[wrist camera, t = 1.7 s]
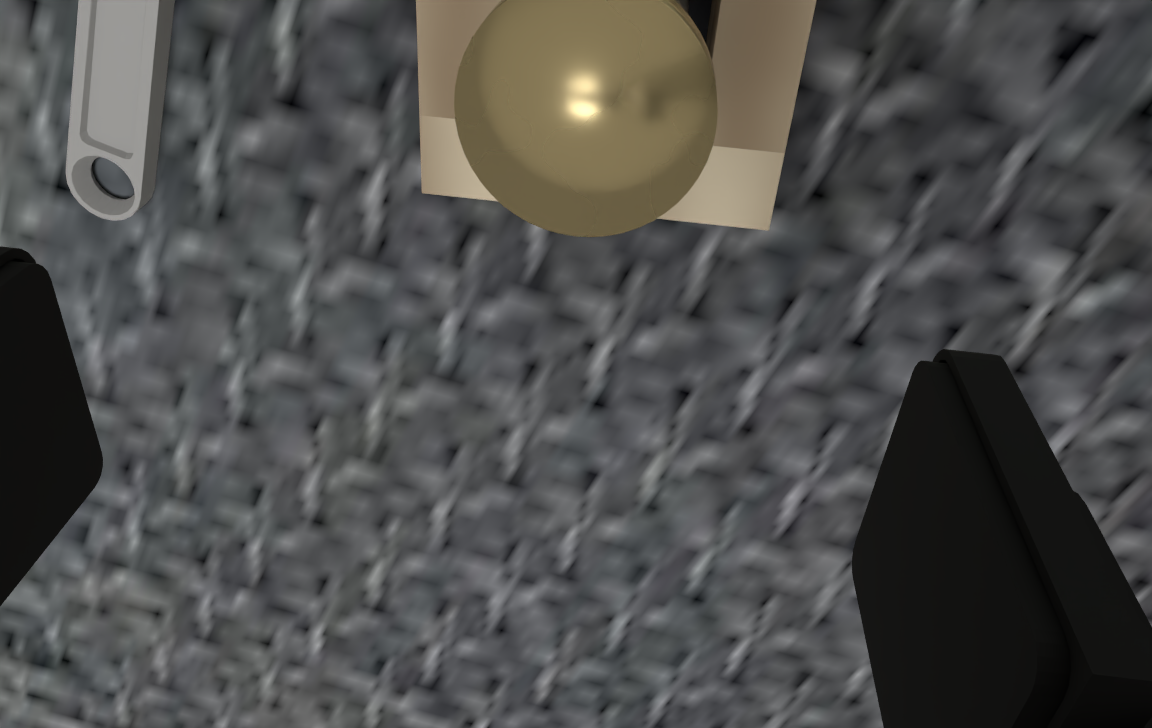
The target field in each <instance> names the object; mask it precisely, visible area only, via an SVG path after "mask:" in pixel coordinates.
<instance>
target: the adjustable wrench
mask: <svg viewBox="0 0 1152 728" xmlns="http://www.w3.org/2000/svg"><path fill="white" fill-rule="evenodd" d="M174 4H175V0H79V3H78V17H77V30H76V43H75V56H74V69H73V83H72V96H71V109H70V122H69V135H68V149H67V162H66V178H67V183H68V186H69V188H70V190H71V192H72V194H73V195H74V197H75V198H76V199H77V201H78V202H79V203H80V204H81V205H82V206H83V207H84V208H86V209H87V210H88V211H89V212H91V213H93V214H95V215H97V216H99V217H101V218H104V219H109V220H124V219H126V218H128V217H131V216H132V215H133V214H135V213H136V212H137V211H138V210H139V209H141V208H142V207H143V206H144V205H145V204H146V203H147V202H148V201H149V200H150V199H151V198H152V195H153V192H154V189H155V181H156V171H157V162H158V153H159V143H160V134H161V125H162V115H163V106H164V97H165V88H166V78H167V69H168V60H169V50H170V41H171V32H172V22H173V13H174ZM98 157H103V158H106V159H108V160H110V161H112V162H114V163H116V164H117V165H118V166H119V167H120V168H121V169H122V170H124V172H125V173H126V174H127V176H128V177H129V178H130V180H131V182H132V185H133V187H134V193H135V194H134V195H133V196H132V197H131V198H128V199H120V198H116V197H114V196H112V195H111V194H109V193H107V192H106V191H105V190H104V189H103V188H101V186H100V185H99V184H98V182H97V181H96V179H95V177H94V174H93V172H92V163H93V161H94V160H95V159H96V158H98Z"/></svg>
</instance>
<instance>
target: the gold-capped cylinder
mask: <svg viewBox="0 0 1152 728" xmlns="http://www.w3.org/2000/svg"><path fill="white" fill-rule="evenodd" d="M688 4H689V0H501V1H500V2H499V3H498V4H497V5H496V7H495V8H494V9H493V10H492V11H491V12H490V13H489V15H488V16H487V17H486V19H485V20H484V21H483V23H482V24H481V25H480V27H479V28H478V30H477V31H476V33H475V34H474V35H473V37H472V38H471V40H470V42H469V44H468V46H467V48H466V50H465V52H464V55H463V58H462V60H461V63H460V66H459V69H458V74H457V79H456V84H455V95H454V111H455V122H456V127H457V132H458V137H459V140H460V143H461V146H462V149H463V151H464V154H465V156H466V158H467V160H468V162H469V164H470V166H471V168H472V170H473V171H474V173H475V174H476V176H477V177H478V179H479V180H480V182H481V183H482V184H483V185H484V187H485V188H486V189H487V190H488V191H489V193H490V194H491V195H492V196H493V197H494V198H495V199H496V200H498V201H499V202H500V203H501V204H502V205H503V206H504V207H506V208H507V209H508V210H510V211H511V212H512V213H514V214H515V215H517V216H518V217H520V218H522V219H524V220H525V221H527V222H529V223H531V224H533V225H536V226H538V227H540V228H543V229H546V230H549V231H552V232H556V233H559V234H565V235H571V236H580V237H599V236H609V235H615V234H620V233H624V232H627V231H630V230H633V229H636V228H639V227H641V226H643V225H645V224H648V223H650V222H652V221H654V220H655V219H657V218H658V217H660V216H662V215H663V214H665V213H666V212H667V211H669V210H670V209H671V208H672V207H673V206H675V205H676V204H677V203H678V202H679V201H680V200H681V199H682V198H683V197H684V196H685V195H686V194H687V193H688V192H689V190H690V189H691V188H692V186H693V185H694V184H695V182H696V181H697V179H698V178H699V176H700V174H701V172H702V171H703V169H704V167H705V165H706V163H707V161H708V158H709V155H710V153H711V150H712V147H713V143H714V138H715V134H716V128H717V117H718V106H717V88H716V78H715V72H714V67H713V62H712V59H711V56H710V53H709V50H708V47H707V45H706V43H705V41H704V39H703V37H702V34H701V32H700V31H699V29H698V28H697V26H696V25H695V23H694V22H693V20H692V18H691V17H690V16H689V15H688Z"/></svg>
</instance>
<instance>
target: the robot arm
mask: <svg viewBox="0 0 1152 728" xmlns="http://www.w3.org/2000/svg"><path fill="white" fill-rule="evenodd" d="M102 467H103V457H102V452H101V448H100V445H99V441H98V438H97V434H96V431H95V428H94V424H93V421H92V417H91V414H90V411H89V407H88V404H87V400H86V397H85V394H84V390H83V387H82V383H81V380H80V377H79V373H78V370H77V366H76V363H75V359H74V356H73V353H72V349H71V346H70V342H69V339H68V336H67V332H66V329H65V325H64V322H63V319H62V315H61V312H60V308H59V305H58V302H57V298H56V295H55V291H54V288H53V285H52V281H51V278H50V276H49V274H48V272H47V270H46V269H45V268H44V267H43V266H41V265H39V264H36V262H35V260H34V259H33V257H32V256H31V255H30V254H29V253H28V252H26V251H24V250H22V249H19V248H9V247H0V606H1V605H2V603H3V602H4V601H5V600H6V598H7V597H8V596H9V595H10V593H11V592H12V591H13V590H14V588H15V587H16V586H17V585H18V583H19V582H20V581H21V580H22V578H23V577H24V576H25V575H26V573H27V572H28V571H29V569H30V568H31V567H32V566H33V564H34V563H35V562H36V561H37V559H38V558H39V557H40V556H41V554H42V553H43V552H44V551H45V549H46V548H47V547H48V546H49V544H50V543H51V542H52V541H53V539H54V538H55V537H56V536H57V534H58V533H59V532H60V530H61V529H62V528H63V527H64V525H65V524H66V523H67V522H68V520H69V519H70V518H71V517H72V515H73V514H74V513H75V512H76V510H77V509H78V508H79V507H80V505H81V504H82V503H83V502H84V500H85V499H86V498H87V497H88V495H89V494H90V493H91V491H92V490H93V489H94V488H95V486H96V484H97V483H98V481H99V478H100V476H101V472H102ZM852 573H853V580H854V585H855V590H856V595H857V600H858V604H859V609H860V614H861V619H862V624H863V629H864V634H865V639H866V643H867V648H868V653H869V658H870V663H871V668H872V673H873V677H874V682H875V687H876V692H877V697H878V702H879V707H880V711H881V716H882V721H883V726H884V728H1152V627H1151V625H1150V623H1149V621H1148V619H1147V617H1146V615H1145V614H1144V612H1143V610H1142V608H1141V606H1140V604H1139V602H1138V601H1137V599H1136V597H1135V595H1134V593H1133V591H1132V589H1131V587H1130V586H1129V584H1128V582H1127V580H1126V578H1125V576H1124V574H1123V572H1122V571H1121V569H1120V567H1119V565H1118V563H1117V561H1116V559H1115V557H1114V556H1113V554H1112V552H1111V550H1110V548H1109V546H1108V544H1107V542H1106V541H1105V539H1104V537H1103V535H1102V533H1101V531H1100V529H1099V527H1098V526H1097V524H1096V522H1095V520H1094V518H1093V516H1092V514H1091V513H1090V511H1089V509H1088V507H1087V505H1086V504H1085V502H1084V501H1083V500H1082V498H1081V497H1080V496H1079V494H1078V493H1076V492H1074V491H1073V490H1072V488H1071V486H1070V484H1069V482H1068V480H1067V478H1066V476H1065V475H1064V473H1063V471H1062V469H1061V467H1060V465H1059V463H1058V461H1057V459H1056V457H1055V456H1054V454H1053V452H1052V450H1051V448H1050V446H1049V444H1048V442H1047V440H1046V438H1045V437H1044V435H1043V433H1042V431H1041V429H1040V427H1039V425H1038V423H1037V421H1036V419H1035V418H1034V416H1033V414H1032V412H1031V410H1030V408H1029V406H1028V404H1027V402H1026V400H1025V399H1024V397H1023V395H1022V393H1021V391H1020V389H1019V387H1018V385H1017V383H1016V381H1015V380H1014V378H1013V376H1012V374H1011V372H1010V370H1009V368H1008V366H1007V364H1006V362H1005V361H1004V360H1003V359H1002V357H1001V356H998V355H993V354H983V353H974V352H965V351H956V350H947V349H943V350H941V351H939V352H938V353H937V355H936V356H935V358H934V359H933V362H930V361H920V362H918V364H917V365H916V366H915V368H914V371H913V373H912V376H911V379H910V382H909V385H908V387H907V390H906V393H905V396H904V399H903V402H902V405H901V408H900V411H899V414H898V417H897V420H896V423H895V426H894V429H893V432H892V435H891V438H890V441H889V444H888V447H887V450H886V453H885V455H884V458H883V461H882V464H881V467H880V470H879V473H878V476H877V479H876V482H875V485H874V488H873V491H872V494H871V497H870V500H869V503H868V506H867V509H866V512H865V515H864V518H863V520H862V523H861V526H860V529H859V532H858V535H857V538H856V541H855V545H854V549H853V557H852Z"/></svg>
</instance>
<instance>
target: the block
mask: <svg viewBox="0 0 1152 728" xmlns="http://www.w3.org/2000/svg"><path fill="white" fill-rule="evenodd" d="M500 1H501V0H416V12H417V45H418V78H419V112H420V145H421V179H422V193H427V194H436V195H445V196H454V197H463V198H473V199H482V200H491V201H498V200H496V199H495V198H494V197H493V196H492V195H491V194H490V193H489V191H488V190H487V189H486V188H485V187H484V185H483V184H482V183H481V182H480V180H479V179H478V177H477V176H476V174H475V173H474V171H473V170H472V168H471V166H470V164H469V162H468V160H467V158H466V156H465V154H464V151H463V149H462V146H461V143H460V140H459V137H458V132H457V127H456V122H455V111H454V95H455V84H456V79H457V74H458V69H459V66H460V63H461V60H462V58H463V55H464V52H465V50H466V48H467V46H468V44H469V42H470V40H471V38H472V37H473V35H474V34H475V33H476V31H477V30H478V28H479V27H480V25H481V24H482V23H483V21H484V20H485V19H486V17H487V16H488V15H489V13H490V12H491V11H492V10H493V9H494V8H495V7H496V5H497V4H498V3H499V2H500ZM815 5H816V0H712V4H711V11H710V18H709V25H708V31H707V38H706V45H707V47H708V50H709V53H710V56H711V59H712V62H713V67H714V72H715V78H716V88H717V106H718V117H717V128H716V134H715V138H714V143H713V147H712V150H711V153H710V155H709V158H708V161H707V163H706V165H705V167H704V169H703V171H702V172H701V174H700V176H699V178H698V179H697V181H696V182H695V184H694V185H693V186H692V188H691V189H690V190H689V192H688V193H687V194H686V195H685V196H684V197H683V198H682V199H681V200H680V201H679V202H678V203H677V204H676V205H675V206H673V207H672V208H671V209H670V210H669V211H667V212H666V213H665V214H663V215H662V216H660V217H658V218H657V219H667V220H676V221H685V222H694V223H704V224H713V225H722V226H731V227H740V228H750V229H759V230H768V231H769V227H770V222H771V217H772V212H773V207H774V203H775V198H776V193H777V188H778V183H779V178H780V174H781V169H782V164H783V159H784V154H785V150H786V145H787V140H788V135H789V130H790V125H791V121H792V116H793V111H794V106H795V101H796V96H797V92H798V87H799V82H800V77H801V72H802V68H803V63H804V58H805V53H806V48H807V43H808V39H809V34H810V29H811V24H812V19H813V14H814V10H815Z"/></svg>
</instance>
